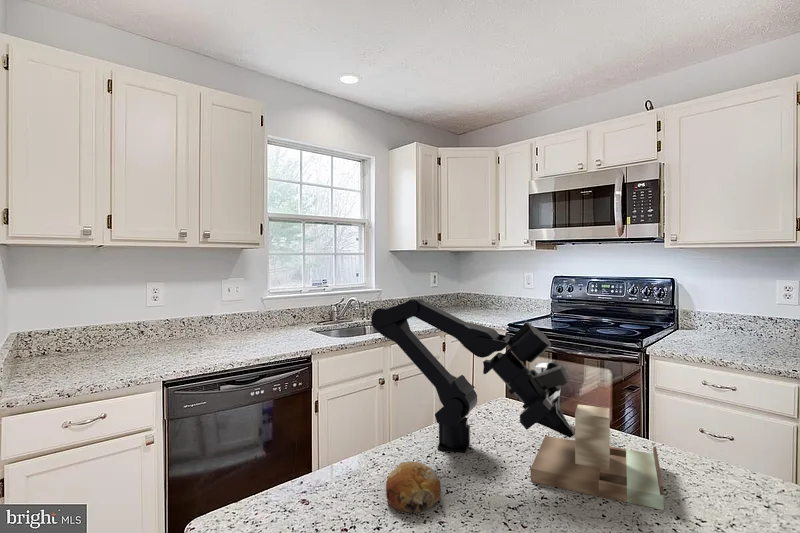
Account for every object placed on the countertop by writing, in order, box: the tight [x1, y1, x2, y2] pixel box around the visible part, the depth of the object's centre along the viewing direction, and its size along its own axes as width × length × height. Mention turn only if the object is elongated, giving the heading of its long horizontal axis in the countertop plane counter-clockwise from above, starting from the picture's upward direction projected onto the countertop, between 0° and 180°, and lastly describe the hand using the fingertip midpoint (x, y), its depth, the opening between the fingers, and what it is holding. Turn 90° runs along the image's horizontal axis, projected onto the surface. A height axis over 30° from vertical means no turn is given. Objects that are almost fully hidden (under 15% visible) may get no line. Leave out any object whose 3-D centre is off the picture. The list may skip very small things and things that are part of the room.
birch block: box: [574, 404, 611, 470], centre depth 87 cm, size 6×6×10 cm
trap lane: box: [530, 435, 665, 511], centre depth 87 cm, size 22×18×4 cm
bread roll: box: [385, 460, 441, 513], centre depth 79 cm, size 10×10×8 cm
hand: (572, 435), depth 89 cm, fingers closed
